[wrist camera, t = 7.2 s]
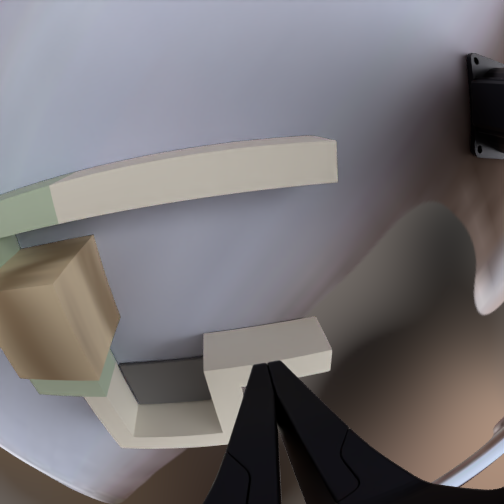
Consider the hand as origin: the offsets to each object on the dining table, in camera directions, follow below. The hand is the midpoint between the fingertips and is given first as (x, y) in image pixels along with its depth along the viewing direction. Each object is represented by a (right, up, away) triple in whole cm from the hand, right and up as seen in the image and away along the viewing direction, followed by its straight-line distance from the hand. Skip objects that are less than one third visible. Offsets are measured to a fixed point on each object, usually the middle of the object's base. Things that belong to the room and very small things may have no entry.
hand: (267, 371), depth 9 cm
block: (-11, +2, +6) cm, 12 cm away
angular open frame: (-6, 0, +8) cm, 9 cm away
